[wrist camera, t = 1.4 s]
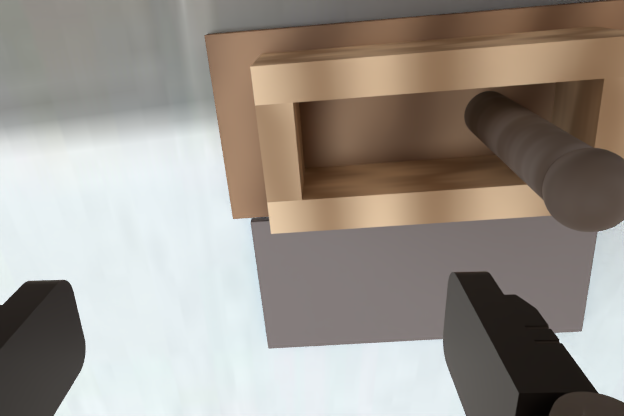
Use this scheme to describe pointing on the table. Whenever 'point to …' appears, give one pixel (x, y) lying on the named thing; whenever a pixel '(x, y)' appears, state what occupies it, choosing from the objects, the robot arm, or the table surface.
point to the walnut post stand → (424, 113)
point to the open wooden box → (418, 79)
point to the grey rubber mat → (412, 277)
